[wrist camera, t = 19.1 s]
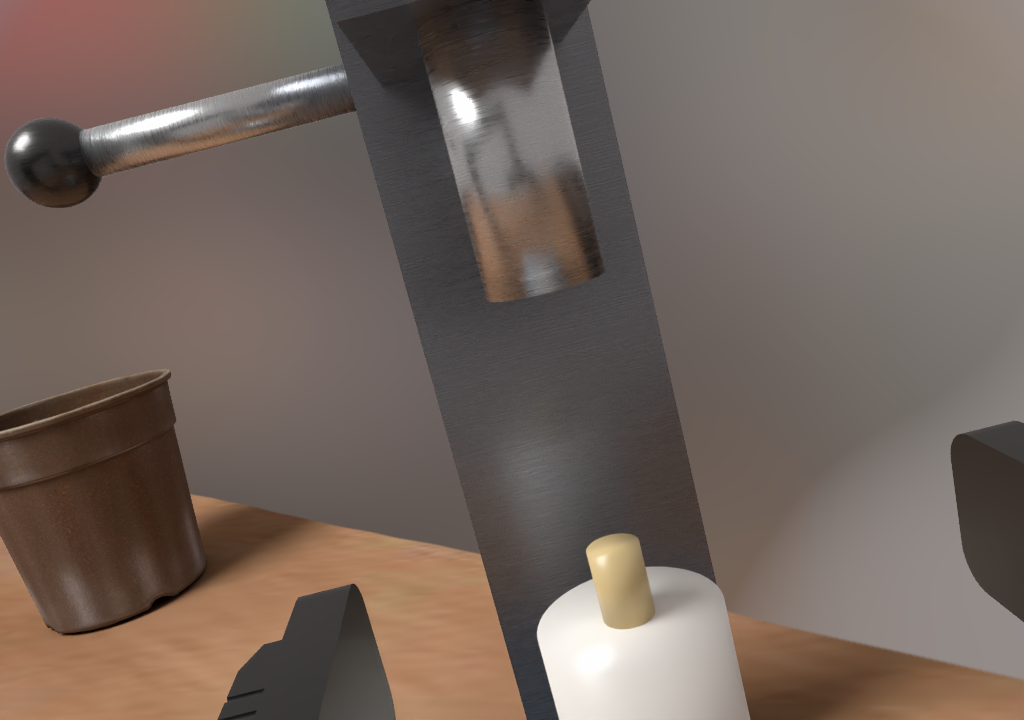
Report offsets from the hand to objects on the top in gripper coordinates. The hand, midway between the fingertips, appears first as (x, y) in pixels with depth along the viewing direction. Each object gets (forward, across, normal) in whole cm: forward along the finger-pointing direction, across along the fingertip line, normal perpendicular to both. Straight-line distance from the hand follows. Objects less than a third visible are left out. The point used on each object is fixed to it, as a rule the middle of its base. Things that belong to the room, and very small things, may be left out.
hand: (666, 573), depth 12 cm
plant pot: (+55, +34, +20) cm, 68 cm away
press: (+13, +4, +19) cm, 23 cm away
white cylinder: (+10, 0, +16) cm, 20 cm away
